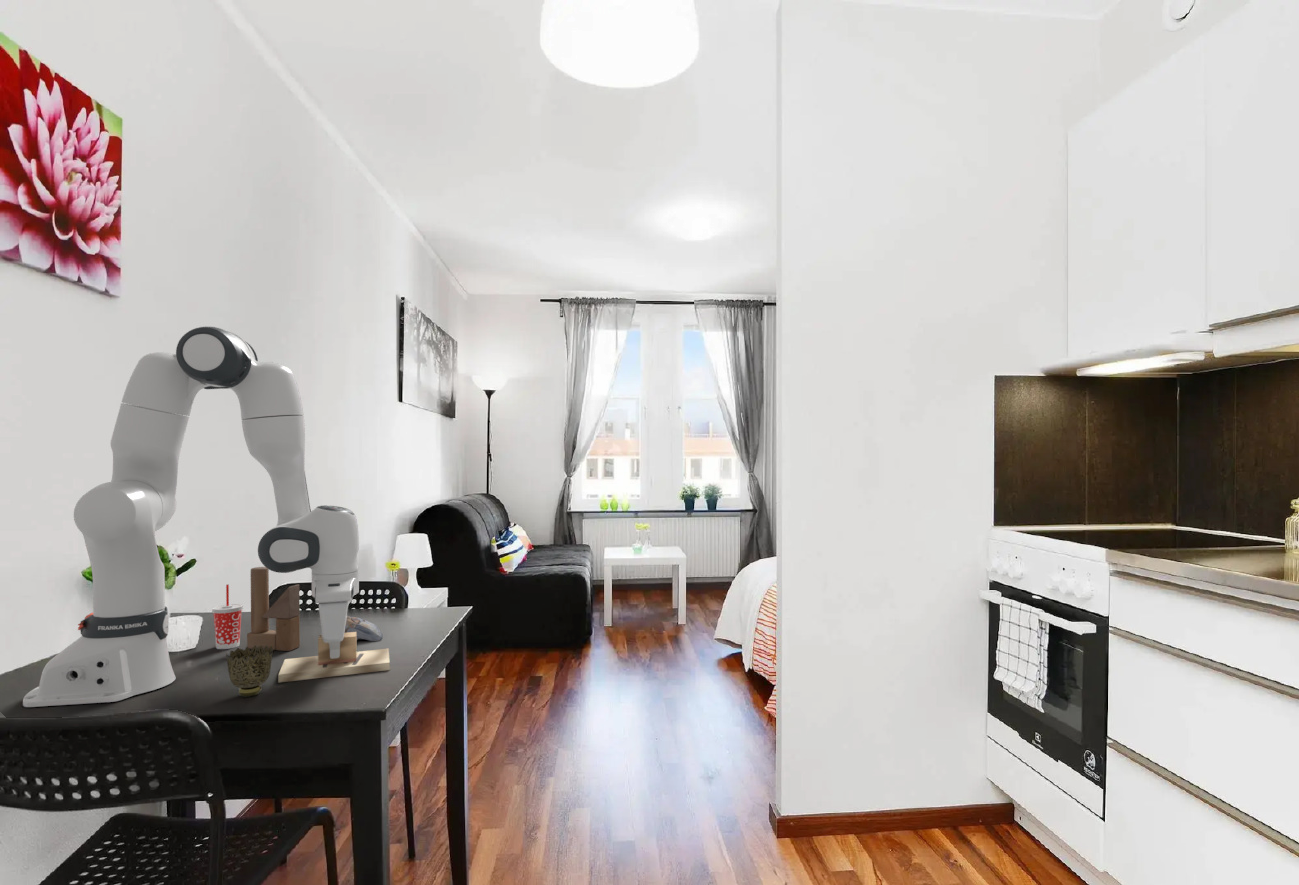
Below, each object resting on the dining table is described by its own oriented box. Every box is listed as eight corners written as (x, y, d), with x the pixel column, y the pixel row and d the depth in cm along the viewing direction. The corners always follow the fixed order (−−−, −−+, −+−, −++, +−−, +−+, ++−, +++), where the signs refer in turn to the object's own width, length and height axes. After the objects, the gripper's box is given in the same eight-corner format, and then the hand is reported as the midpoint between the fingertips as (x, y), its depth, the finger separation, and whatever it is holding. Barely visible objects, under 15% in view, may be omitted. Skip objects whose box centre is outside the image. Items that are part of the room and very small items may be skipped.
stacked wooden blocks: (289, 651, 160) (289, 569, 160) (246, 649, 162) (245, 569, 162) (300, 646, 163) (299, 567, 163) (258, 645, 165) (257, 566, 165)
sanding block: (318, 665, 144) (318, 639, 144) (319, 659, 148) (319, 635, 148) (356, 661, 146) (356, 636, 146) (356, 655, 150) (356, 631, 150)
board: (278, 682, 138) (278, 674, 138) (285, 666, 148) (285, 659, 148) (389, 669, 145) (389, 662, 145) (388, 655, 156) (388, 648, 156)
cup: (239, 688, 135) (239, 645, 135) (280, 686, 136) (279, 644, 136) (218, 702, 128) (217, 656, 128) (261, 700, 128) (261, 655, 128)
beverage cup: (220, 651, 160) (220, 588, 160) (206, 647, 164) (206, 585, 164) (248, 645, 165) (248, 583, 165) (234, 641, 169) (234, 581, 169)
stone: (390, 630, 169) (346, 622, 164) (383, 650, 169) (339, 643, 164) (375, 615, 184) (334, 607, 179) (368, 634, 183) (328, 626, 178)
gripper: (321, 578, 156) (321, 642, 155) (314, 596, 136) (314, 669, 136) (353, 576, 158) (353, 639, 158) (350, 593, 139) (350, 665, 139)
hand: (335, 653), depth 147 cm, fingers closed on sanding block, 4 cm apart
